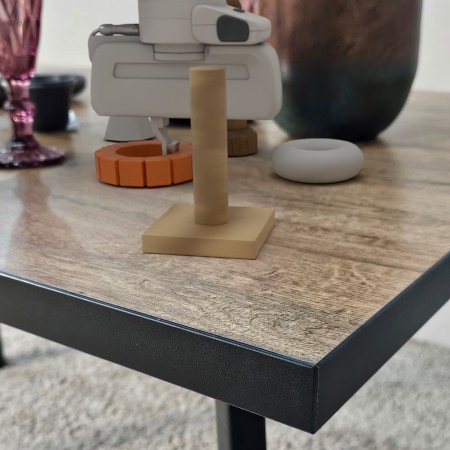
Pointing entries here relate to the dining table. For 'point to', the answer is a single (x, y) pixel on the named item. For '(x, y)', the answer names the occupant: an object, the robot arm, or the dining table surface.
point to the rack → (209, 187)
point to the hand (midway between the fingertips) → (187, 159)
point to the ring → (143, 164)
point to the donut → (317, 160)
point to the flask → (128, 128)
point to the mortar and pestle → (240, 125)
